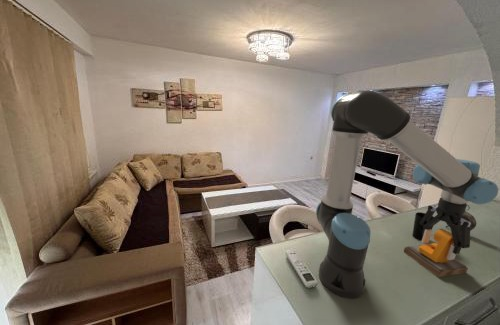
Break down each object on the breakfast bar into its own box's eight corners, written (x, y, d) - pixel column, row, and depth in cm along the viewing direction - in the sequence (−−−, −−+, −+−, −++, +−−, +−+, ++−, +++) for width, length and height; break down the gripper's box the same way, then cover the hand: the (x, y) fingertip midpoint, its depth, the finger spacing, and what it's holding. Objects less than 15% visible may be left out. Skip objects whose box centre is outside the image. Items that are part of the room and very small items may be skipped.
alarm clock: (472, 236, 104) (482, 207, 100) (468, 239, 101) (479, 209, 97) (444, 225, 113) (453, 199, 109) (440, 227, 111) (449, 200, 107)
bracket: (434, 248, 88) (442, 223, 85) (454, 259, 82) (464, 233, 78) (416, 251, 85) (424, 226, 82) (435, 264, 79) (444, 237, 75)
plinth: (437, 276, 76) (439, 270, 75) (403, 251, 89) (405, 245, 89) (466, 273, 79) (468, 266, 78) (429, 249, 92) (431, 243, 91)
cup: (406, 234, 103) (412, 213, 100) (415, 232, 105) (421, 211, 102) (423, 244, 96) (430, 221, 93) (433, 241, 98) (440, 219, 95)
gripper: (499, 214, 67) (477, 270, 73) (431, 188, 88) (418, 234, 94) (482, 215, 66) (460, 272, 72) (417, 189, 87) (404, 235, 92)
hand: (436, 250), depth 83 cm, fingers open, 9 cm apart
